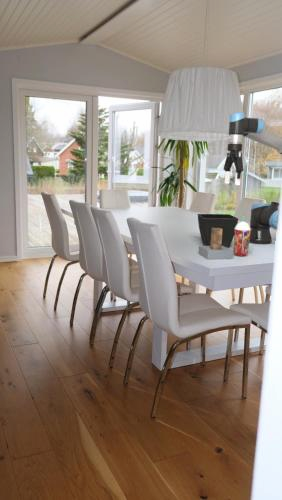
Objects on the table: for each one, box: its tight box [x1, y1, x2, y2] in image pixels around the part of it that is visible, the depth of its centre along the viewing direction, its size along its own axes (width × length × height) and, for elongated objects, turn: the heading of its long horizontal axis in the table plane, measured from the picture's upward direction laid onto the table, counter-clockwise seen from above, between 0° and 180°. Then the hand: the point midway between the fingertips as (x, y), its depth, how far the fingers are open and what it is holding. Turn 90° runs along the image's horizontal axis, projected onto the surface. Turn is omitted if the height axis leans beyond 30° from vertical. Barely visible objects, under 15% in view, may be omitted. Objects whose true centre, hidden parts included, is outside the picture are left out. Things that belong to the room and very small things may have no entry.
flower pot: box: [197, 213, 239, 248], centre depth 249 cm, size 19×19×17 cm
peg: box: [210, 228, 222, 250], centre depth 221 cm, size 4×4×14 cm
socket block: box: [197, 245, 234, 260], centre depth 222 cm, size 13×13×4 cm
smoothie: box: [233, 215, 251, 257], centre depth 225 cm, size 8×8×20 cm
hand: (231, 184), depth 238 cm, fingers open, 13 cm apart
